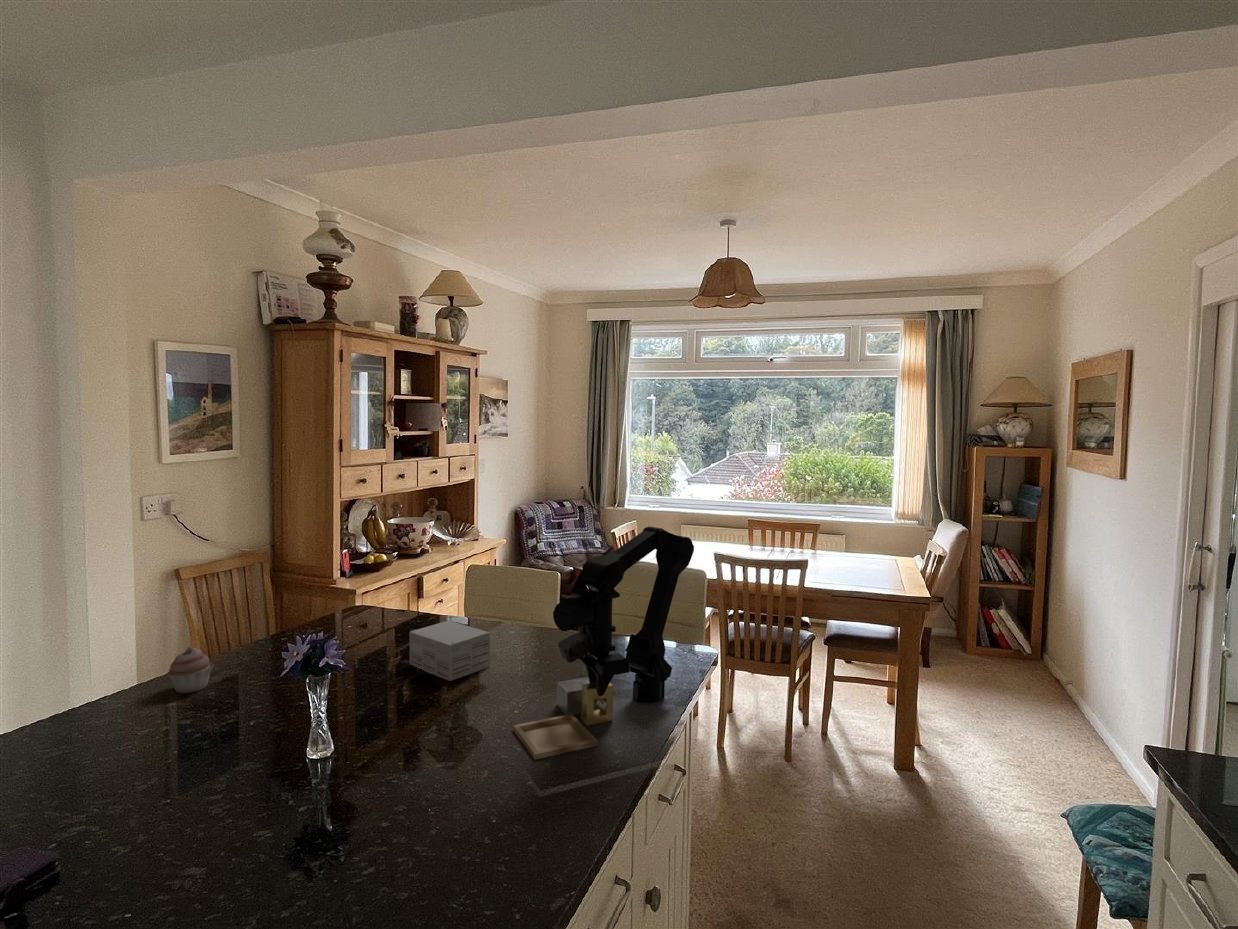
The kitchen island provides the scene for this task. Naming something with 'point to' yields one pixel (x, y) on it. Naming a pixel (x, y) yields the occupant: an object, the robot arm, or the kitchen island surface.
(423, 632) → the supplement box
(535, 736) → the tray
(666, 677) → the robot arm
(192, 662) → the cupcake
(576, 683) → the vise block
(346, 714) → the kitchen island surface
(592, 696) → the wooden block
